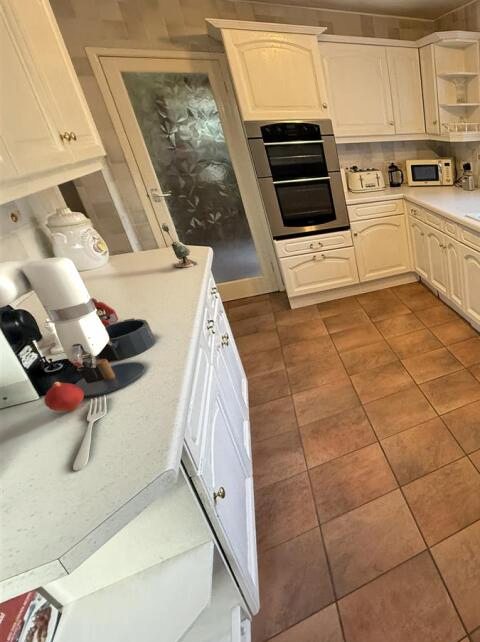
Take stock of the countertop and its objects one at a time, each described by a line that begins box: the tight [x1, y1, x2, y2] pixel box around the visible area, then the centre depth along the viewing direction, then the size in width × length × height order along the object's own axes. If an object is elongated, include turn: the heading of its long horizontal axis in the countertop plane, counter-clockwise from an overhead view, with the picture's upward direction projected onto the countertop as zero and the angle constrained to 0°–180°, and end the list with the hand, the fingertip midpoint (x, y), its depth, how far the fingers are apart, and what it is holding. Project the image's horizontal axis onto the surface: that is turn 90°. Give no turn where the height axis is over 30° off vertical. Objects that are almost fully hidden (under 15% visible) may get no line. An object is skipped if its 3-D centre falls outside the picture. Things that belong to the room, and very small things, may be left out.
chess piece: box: [42, 318, 65, 355], centre depth 113 cm, size 5×5×10 cm
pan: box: [96, 317, 156, 362], centre depth 113 cm, size 13×18×6 cm
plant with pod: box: [161, 222, 198, 268], centre depth 175 cm, size 8×11×20 cm
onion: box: [44, 381, 85, 412], centre depth 89 cm, size 6×6×8 cm
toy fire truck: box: [90, 297, 119, 327], centre depth 123 cm, size 7×12×10 cm, turn 131°
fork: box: [72, 395, 107, 472], centre depth 83 cm, size 3×24×2 cm, turn 37°
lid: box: [74, 359, 146, 398], centre depth 99 cm, size 14×14×6 cm
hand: (104, 370), depth 99 cm, fingers open, 9 cm apart
